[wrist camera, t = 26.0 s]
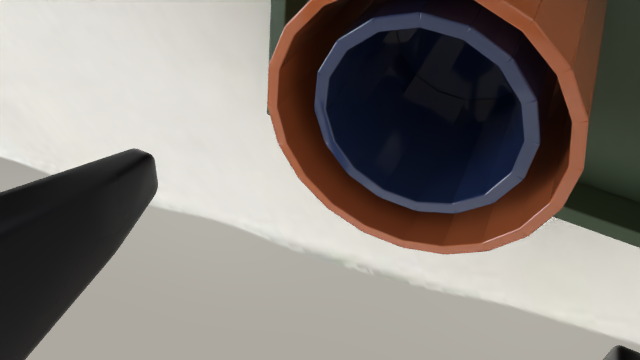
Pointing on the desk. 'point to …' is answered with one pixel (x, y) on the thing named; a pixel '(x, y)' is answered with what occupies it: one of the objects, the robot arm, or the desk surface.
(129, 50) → the desk surface
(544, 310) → the desk surface
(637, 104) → the tray
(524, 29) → the large cup
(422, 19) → the small cup
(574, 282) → the desk surface
